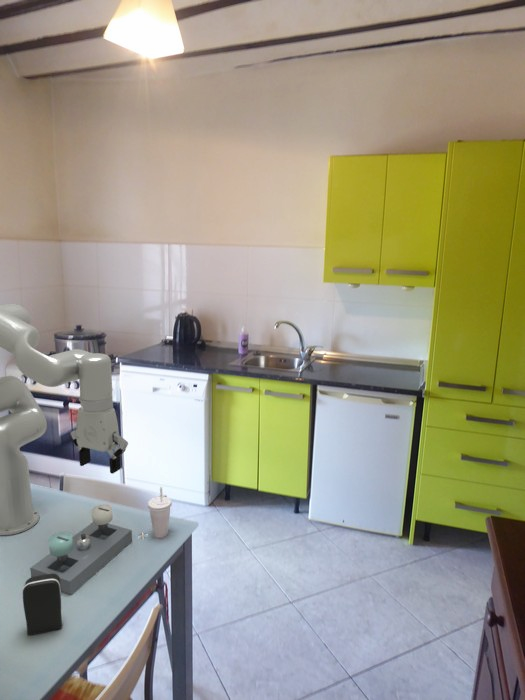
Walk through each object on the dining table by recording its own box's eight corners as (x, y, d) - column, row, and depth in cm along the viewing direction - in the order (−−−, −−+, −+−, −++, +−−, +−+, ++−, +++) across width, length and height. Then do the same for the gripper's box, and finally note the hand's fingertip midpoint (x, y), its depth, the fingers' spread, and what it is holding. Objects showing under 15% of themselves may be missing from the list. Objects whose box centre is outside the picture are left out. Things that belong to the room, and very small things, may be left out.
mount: (31, 580, 112) (30, 567, 111) (96, 531, 132) (95, 519, 131) (70, 595, 107) (69, 581, 107) (132, 541, 127) (131, 529, 127)
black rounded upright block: (64, 615, 101) (60, 568, 99) (63, 629, 98) (59, 580, 95) (28, 623, 99) (23, 575, 97) (25, 637, 96) (20, 587, 93)
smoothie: (167, 542, 127) (165, 494, 124) (144, 539, 128) (142, 491, 126) (176, 529, 133) (174, 483, 130) (154, 526, 135) (153, 480, 132)
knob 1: (46, 562, 111) (44, 541, 110) (62, 550, 115) (60, 529, 114) (62, 567, 109) (60, 546, 108) (78, 555, 114) (76, 534, 112)
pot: (75, 549, 118) (74, 536, 117) (83, 542, 121) (82, 530, 120) (84, 552, 117) (83, 539, 116) (93, 545, 120) (92, 533, 119)
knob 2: (88, 530, 124) (87, 511, 122) (101, 520, 128) (100, 502, 127) (104, 535, 122) (102, 515, 121) (116, 525, 126) (115, 506, 125)
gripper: (58, 402, 117) (62, 466, 121) (114, 413, 111) (117, 480, 115) (80, 394, 124) (84, 455, 128) (135, 404, 118) (137, 468, 121)
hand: (100, 467), depth 121 cm, fingers open, 9 cm apart
